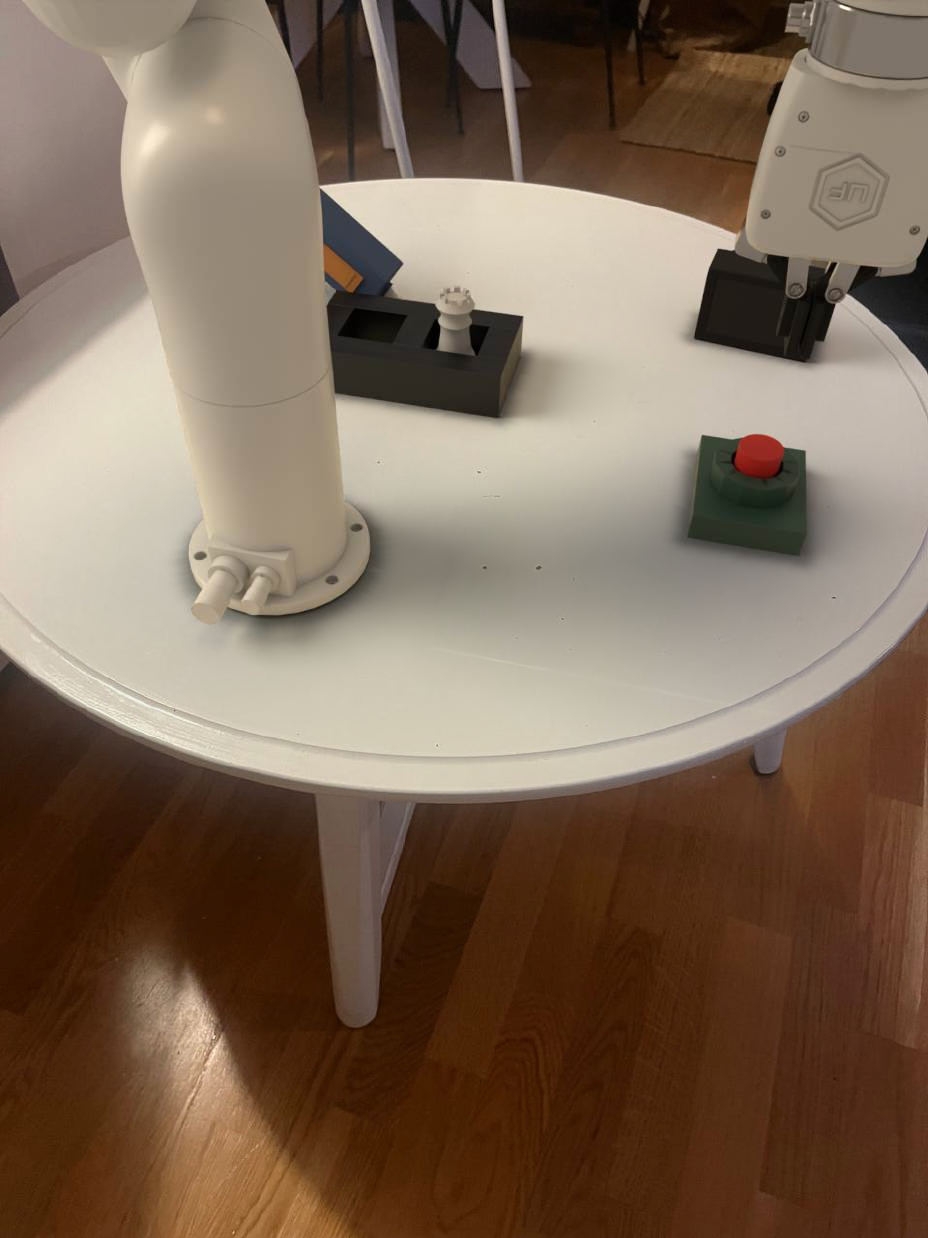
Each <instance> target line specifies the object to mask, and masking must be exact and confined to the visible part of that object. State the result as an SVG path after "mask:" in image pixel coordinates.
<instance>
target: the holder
mask: <svg viewBox="0 0 928 1238" xmlns="http://www.w3.org/2000/svg"><path fill="white" fill-rule="evenodd" d="M334 291H335V292H334V293H333V295H332V296H331V298H330V299H329V301H328V302H327V303H326V306H327V317H328V328H329V340H330V351H331V357H332V367H333V378H334V390H335V394H341V395H342V394H343V395H348V396H349V395H350V396H355V397H362V398H366V399H375V400H380V401H386V402H387V401H388V402H393V403H400V404H406V405H411V406H412V405H413V406H418V407H424V408H425V407H426V408H431V409H432V408H433V409H439V410H446V411H450V412H451V411H452V412H457V413H458V412H459V413H464V414H471V415H477V416H483V417H490V418H496V419H499V417H500V414H501V412H502V409H503V408H504V407H503V406H504V405H505V404H504V403H505V401H506V399H507V395H508V393H509V390H510V387H511V384H512V381H513V379H514V377H515V373H516V371H517V367H518V365H519V363H520V359H521V358H522V343H523V330H524V329H523V328H524V315H519V314H511V313H504V312H497V311H490V310H482V309H475V308H474V309H473V310H472V311H471V312H470V313H469V316H470V318H471V320H472V323H471V325H470V326H469V334H470V342H471V347H472V349H473V350H474V352H475V355H476V356H473V355H466V354H459V353H453V352H446V351H439V350H436V349H437V348H438V345H439V339H440V332H441V325H440V324H439V322H438V320H439V317H440V316H441V313H440V311H439V310H438V309H437V307H436V305H435V304H436V303H433V302H425V301H419V300H410V299H403V298H400V299H397V298H390V297H383V296H375V295H368V294H361V293H354V292H347V291H339V290H334Z"/></svg>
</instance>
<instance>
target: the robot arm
mask: <svg viewBox="0 0 928 1238" xmlns="http://www.w3.org/2000/svg"><path fill="white" fill-rule="evenodd" d="M21 1H22V2H23V3H24V4H25V6H26V7H27V8H28V9H29V10H30V11H31V13H32V14H34V16H35V17H36V18H37V19H38V21H39V22H41V23H42V24H43V25H44V26H45V27H46V28H47V29H49V30H50V31H51V32H53V33H54V34H55V35H57V37H59V38H60V39H61V40H63V41H64V42H66V43H68V44H70V45H71V46H73V47H75V48H77V49H80V50H82V51H84V52H85V53H90V54H93V55H96V56H99V57H101V58H102V59H103V61H104V63H105V66H107V68H108V70H109V72H110V73H111V76H112V78H113V79H114V80H115V82H116V84H117V86H118V87H119V90H121V93H122V95H123V97H124V98H125V100H126V103H127V104H126V109H125V115H124V122H123V128H122V137H121V146H120V147H121V148H120V182H121V192H122V193H121V195H122V200H123V206H124V207H123V208H124V212H125V217H126V222H127V226H128V229H129V233H130V237H131V239H132V244H133V247H134V250H135V253H136V256H137V259H138V262H139V265H140V269H141V271H142V275H143V277H144V280H145V283H146V286H147V290H148V294H149V296H150V300H151V303H152V307H153V311H154V315H155V318H156V319H155V320H156V322H157V326H158V330H159V335H160V340H161V344H162V348H163V352H164V356H165V359H166V365H167V370H168V373H169V377H170V379H171V381H172V387H173V390H174V394H175V400H176V404H177V408H178V412H179V417H180V421H181V425H182V429H183V434H184V439H185V444H186V447H187V451H188V456H189V460H190V461H189V462H190V466H191V469H192V474H193V478H194V482H195V487H196V491H197V497H198V501H199V504H200V508H201V512H202V516H203V518H202V520H200V522H198V525H197V526H196V528H195V529H194V531H193V533H192V536H191V538H190V541H189V545H188V559H189V565H190V569H191V573H192V574H193V575H192V576H193V577H194V580H195V582H196V583H197V585H198V586H199V588H200V589H201V591H200V592H199V594H198V595H197V597H196V599H195V601H194V602H193V604H192V606H191V608H190V609H191V613H192V615H193V616H194V617H195V618H196V620H198V621H200V622H201V623H204V624H207V625H216V624H217V623H219V622H221V619H222V617H223V615H224V614H225V612H226V610H227V608H229V609H232V610H235V611H238V612H241V613H245V614H247V615H250V616H283V615H291V614H297V613H301V612H304V611H309V610H313V609H316V608H318V607H320V606H324V605H326V604H327V603H330V602H332V601H333V600H335V599H337V598H338V597H340V596H341V595H343V594H344V593H346V592H347V591H348V590H349V589H350V588H352V587H353V585H355V584H356V583H357V582H358V580H359V579H360V577H361V576H362V575H363V573H364V572H365V570H366V567H367V565H368V562H369V561H370V560H369V559H370V555H371V554H370V553H371V540H370V539H371V536H370V532H369V527H368V525H367V524H368V523H367V522H366V521H365V519H364V517H363V516H362V514H361V513H360V511H358V509H356V508H355V506H353V505H352V504H351V503H349V502H348V501H346V500H345V494H344V483H343V474H342V473H343V471H342V462H341V461H342V460H341V450H340V439H339V438H340V437H339V429H338V428H339V427H338V414H337V403H336V393H335V390H334V378H333V367H332V357H331V351H330V340H329V328H328V317H327V306H326V305H327V294H326V293H327V292H326V282H325V277H324V257H323V227H322V209H321V198H320V189H319V187H320V181H319V174H318V169H317V168H318V167H317V162H316V156H315V155H316V154H315V151H314V146H313V140H312V136H311V132H310V125H309V121H308V118H307V115H306V110H305V107H304V101H303V96H302V91H301V88H300V84H299V80H298V77H297V73H296V71H295V68H294V65H293V63H292V61H291V58H290V55H289V53H288V51H287V49H286V46H285V44H284V42H283V39H282V37H281V35H280V32H279V30H278V27H277V25H276V23H275V20H274V18H273V16H272V14H271V11H270V9H269V6H268V4H267V1H266V0H21ZM784 33H791V34H797V36H798V37H801V38H804V43H805V44H808V47H806V48H803V49H800V50H799V51H797V52H796V53H795V55H794V56H793V59H792V61H791V63H790V65H789V68H788V69H787V72H786V74H785V77H784V79H783V82H782V85H781V87H780V90H779V93H778V96H777V99H776V102H775V104H774V107H773V110H772V113H771V115H770V119H769V121H768V124H767V128H766V131H765V135H764V138H763V142H762V145H761V149H760V152H759V156H758V159H757V163H756V166H755V171H754V175H753V177H752V182H751V185H750V191H749V197H748V198H749V199H748V204H747V205H748V206H747V212H746V214H745V217H744V219H743V221H742V224H741V226H740V228H739V229H738V232H737V233H736V236H735V239H734V250H735V252H736V253H737V254H738V255H741V256H743V257H746V258H749V259H751V260H754V261H757V262H760V263H761V262H763V263H765V264H768V266H769V267H770V269H771V270H772V271H773V273H774V274H775V275H776V277H777V278H778V280H779V281H780V282H781V284H782V285H783V286H784V288H785V289H786V294H785V298H784V301H783V305H782V309H781V313H780V316H779V320H778V325H777V332H776V336H780V337H784V356H789V357H793V355H796V354H797V350H798V356H801V358H804V359H806V360H810V358H811V355H812V352H813V349H814V346H815V342H819V343H820V342H821V343H824V342H825V341H826V337H827V334H828V331H829V328H830V324H831V322H832V319H833V315H834V312H835V307H836V305H837V304H839V303H841V302H842V301H844V300H845V298H846V296H847V294H848V293H850V292H852V291H853V290H855V289H857V288H858V287H861V286H862V285H864V284H865V283H867V282H868V281H870V280H872V279H873V278H874V277H890V276H901V275H908V274H911V273H913V272H914V271H915V269H916V267H917V259H918V257H919V256H920V254H921V252H922V250H923V249H924V246H925V244H926V243H927V242H926V241H927V239H928V0H812V1H807V0H806V1H805V2H804V3H794V2H790V4H789V7H788V11H787V15H786V21H785V27H784ZM810 261H821V262H828V264H827V266H826V268H825V269H826V270H825V273H824V275H822V276H821V277H819V279H817V281H816V284H814V283H813V284H812V288H811V283H810V275H809V274H808V269H809V266H810Z"/></svg>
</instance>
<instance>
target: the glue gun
mask: <svg viewBox="0 0 928 1238" xmlns="http://www.w3.org/2000/svg"><path fill="white" fill-rule="evenodd" d="M319 189H320V198H321V209H322V227H323V257H324V277H325V283H326V284H327V285H329V286H330V287H331V288H332V289H333V290H334V291H336V290H339V291H347V292H354V293H361V294H368V295H375V296H383V297H390V298H397V299H401V297H400V296H399V295H398V293H397V292H396V291H395V290H394V289H393V288H392V287H393V285H394V283H392V282H391V281H392V280H393V279H394V277H395V276H396V275H397V274H398V272H399V271H400V269H401V268H402V267H403V266H404V262H403V260H401V259H400V258H399V257H398V256H397V255H396V254H395V253H394V252H392V251H391V250H390V249H389V248H388V247H387V246H386V245H384V243H383V242H381V241H380V240H379V238H377V237H376V236H374V235H373V234H372V233H371V232H370V231H369V230H368V229H367V228H366V227H365V226H364V225H362V224H361V223H360V222H359V221H358V220H357V219H356V218H354V217H353V216H352V215H351V214H350V213H349V212H348V211H347V210H346V209H344V208H343V207H342V206H341V205H340V204H339V203H338V202H336V201H335V200H334V199H333V198H332V197H331V196H330V195H329V194H328V193H327V192H325V191H324V190H323V189H322V188H321V187H320V186H319Z"/></svg>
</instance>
